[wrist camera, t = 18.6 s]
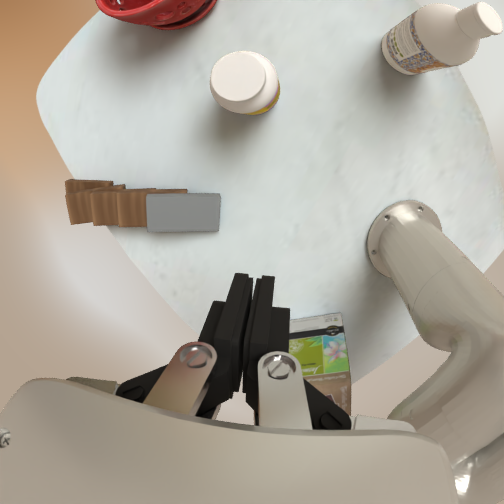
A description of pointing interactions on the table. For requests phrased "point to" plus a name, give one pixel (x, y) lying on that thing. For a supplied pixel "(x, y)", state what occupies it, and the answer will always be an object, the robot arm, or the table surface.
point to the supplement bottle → (245, 83)
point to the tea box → (323, 356)
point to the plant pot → (157, 11)
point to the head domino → (183, 212)
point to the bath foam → (439, 37)
